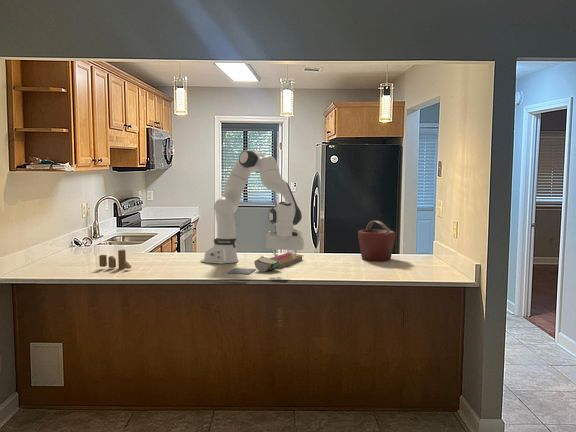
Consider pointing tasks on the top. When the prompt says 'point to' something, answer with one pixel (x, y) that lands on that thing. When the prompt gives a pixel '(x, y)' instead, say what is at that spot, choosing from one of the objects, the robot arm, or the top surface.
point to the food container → (266, 264)
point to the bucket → (376, 243)
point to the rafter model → (287, 259)
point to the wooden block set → (112, 260)
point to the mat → (241, 271)
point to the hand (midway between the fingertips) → (284, 258)
